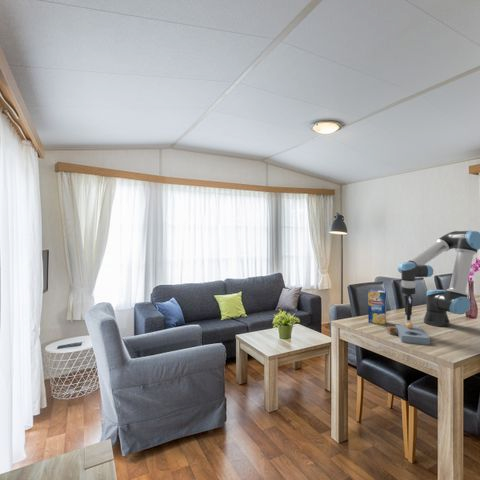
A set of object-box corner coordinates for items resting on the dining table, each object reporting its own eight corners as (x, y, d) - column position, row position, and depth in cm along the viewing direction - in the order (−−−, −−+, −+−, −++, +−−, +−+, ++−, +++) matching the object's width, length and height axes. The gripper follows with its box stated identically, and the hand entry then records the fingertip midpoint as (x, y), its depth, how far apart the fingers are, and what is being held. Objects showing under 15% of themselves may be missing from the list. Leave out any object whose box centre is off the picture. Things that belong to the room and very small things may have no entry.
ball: (412, 326, 187) (412, 321, 186) (413, 329, 184) (413, 325, 183) (405, 326, 188) (405, 321, 187) (406, 329, 185) (407, 324, 184)
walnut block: (393, 332, 190) (393, 326, 190) (396, 334, 186) (396, 328, 186) (387, 332, 190) (387, 326, 190) (390, 334, 186) (389, 328, 186)
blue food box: (385, 324, 207) (385, 292, 206) (368, 322, 212) (368, 291, 212) (386, 321, 213) (386, 290, 212) (369, 319, 218) (369, 289, 218)
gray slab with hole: (395, 330, 193) (395, 324, 193) (420, 332, 189) (420, 326, 189) (401, 341, 173) (401, 335, 173) (429, 344, 168) (429, 338, 168)
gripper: (399, 285, 195) (399, 321, 195) (403, 288, 183) (403, 327, 183) (413, 285, 193) (412, 322, 193) (417, 289, 180) (417, 328, 181)
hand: (408, 324), depth 188 cm, fingers closed
